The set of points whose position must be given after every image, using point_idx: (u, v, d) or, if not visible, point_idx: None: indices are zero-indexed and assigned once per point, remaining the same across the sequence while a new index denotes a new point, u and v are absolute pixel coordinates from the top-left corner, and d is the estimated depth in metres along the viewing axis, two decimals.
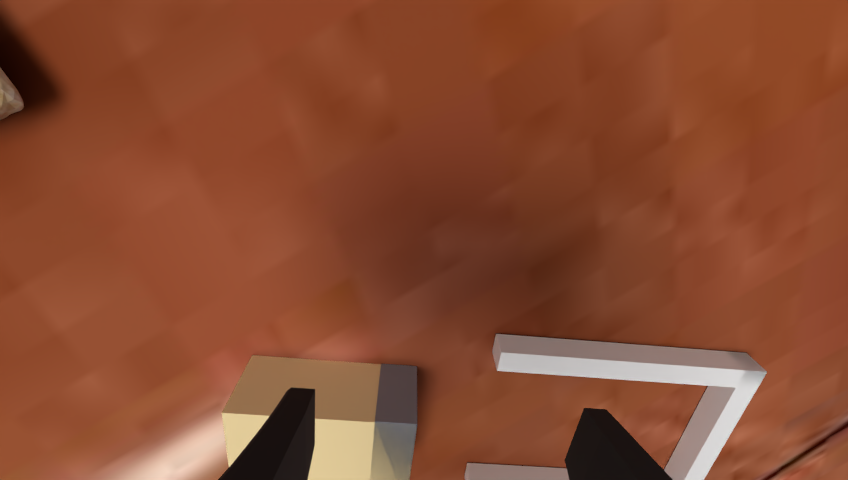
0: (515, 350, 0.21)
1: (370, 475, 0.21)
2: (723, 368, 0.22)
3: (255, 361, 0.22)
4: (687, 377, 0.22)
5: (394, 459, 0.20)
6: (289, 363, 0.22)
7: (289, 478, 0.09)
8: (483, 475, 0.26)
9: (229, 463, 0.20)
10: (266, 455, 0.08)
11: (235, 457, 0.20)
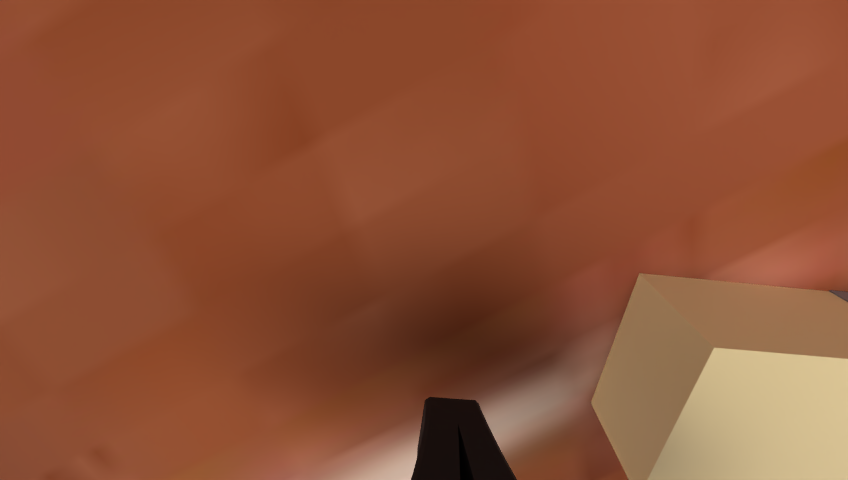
0: None
1: None
2: None
3: (655, 280, 0.14)
4: None
5: None
6: (706, 285, 0.14)
7: None
8: None
9: (668, 441, 0.12)
10: (443, 465, 0.08)
11: (685, 430, 0.12)
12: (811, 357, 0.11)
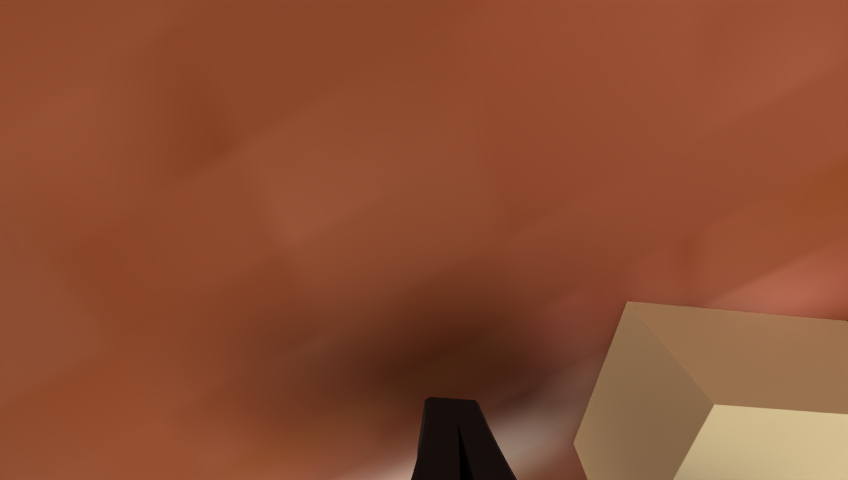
0: None
1: None
2: None
3: (645, 310, 0.12)
4: None
5: None
6: (704, 315, 0.12)
7: None
8: None
9: None
10: (443, 465, 0.08)
11: None
12: (833, 414, 0.09)
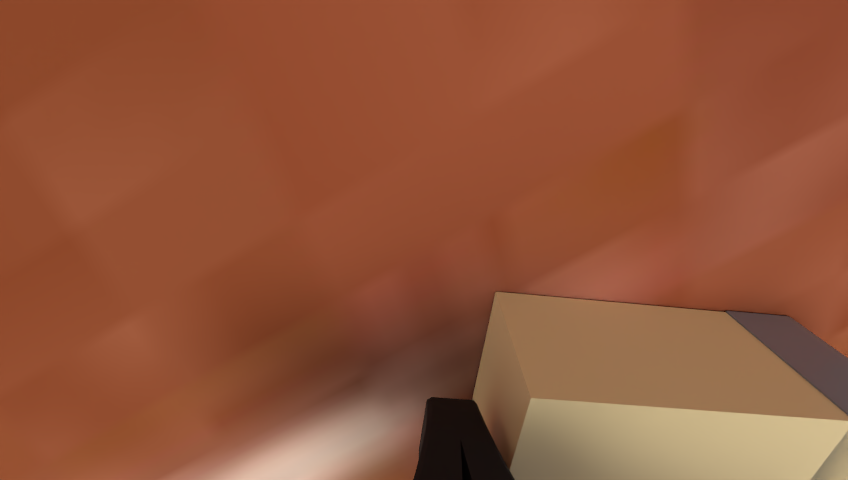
0: None
1: None
2: None
3: (510, 303, 0.11)
4: None
5: None
6: (573, 308, 0.12)
7: None
8: None
9: None
10: (445, 466, 0.08)
11: None
12: (659, 409, 0.08)
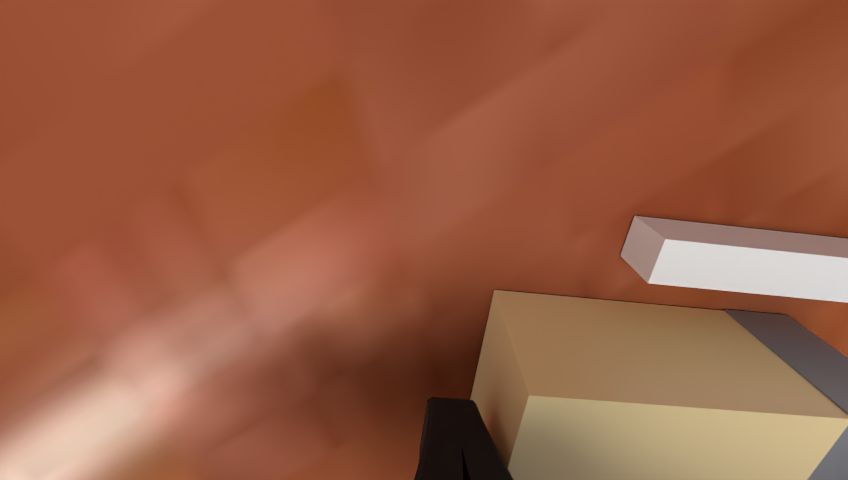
0: (690, 238, 0.10)
1: None
2: None
3: (509, 301, 0.11)
4: None
5: None
6: (571, 306, 0.12)
7: None
8: None
9: None
10: (446, 466, 0.08)
11: None
12: (657, 406, 0.08)
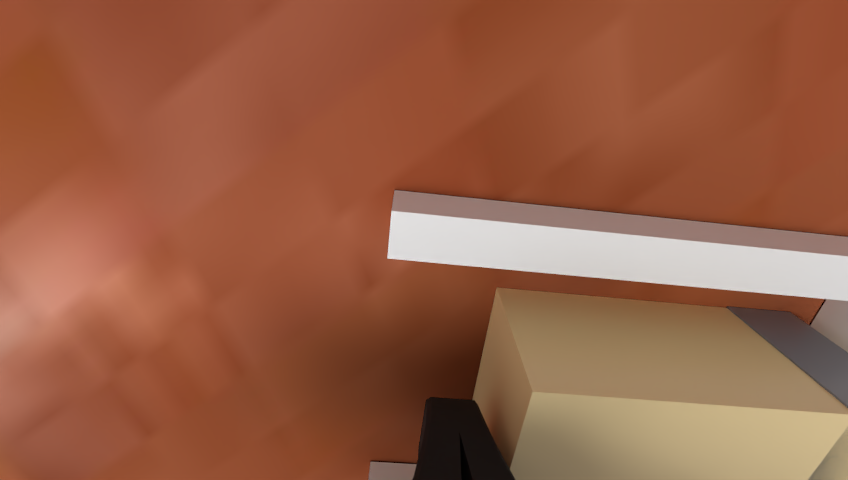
0: (426, 210, 0.09)
1: None
2: None
3: (511, 298, 0.11)
4: (798, 279, 0.10)
5: None
6: (574, 303, 0.12)
7: None
8: None
9: None
10: (444, 466, 0.08)
11: None
12: (660, 402, 0.08)
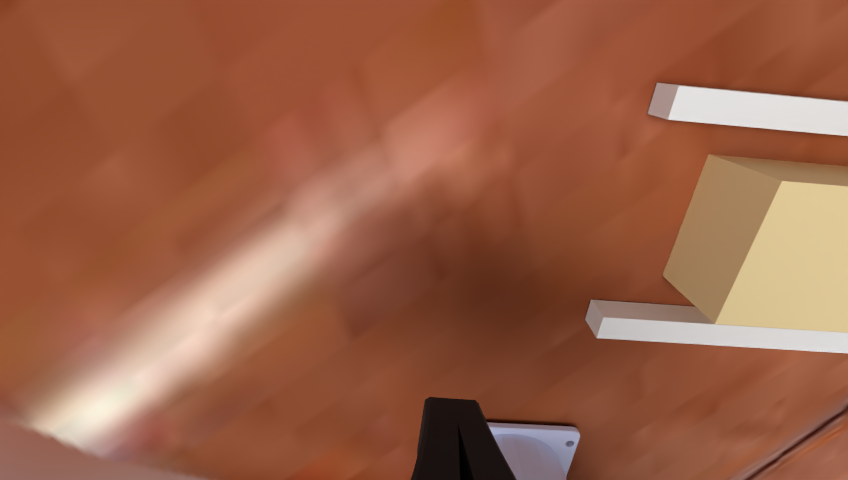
0: (695, 87, 0.15)
1: None
2: None
3: (723, 157, 0.17)
4: None
5: None
6: (763, 160, 0.17)
7: None
8: (615, 309, 0.20)
9: (742, 268, 0.16)
10: (443, 466, 0.08)
11: (755, 258, 0.15)
12: None
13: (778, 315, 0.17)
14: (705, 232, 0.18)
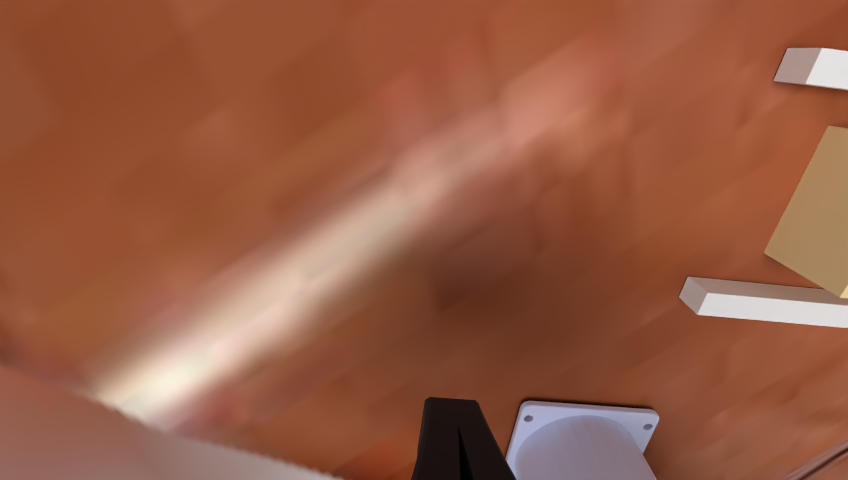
0: None
1: None
2: None
3: (845, 128, 0.17)
4: None
5: None
6: None
7: None
8: (716, 286, 0.20)
9: None
10: (443, 466, 0.08)
11: None
12: None
13: None
14: (824, 205, 0.17)
